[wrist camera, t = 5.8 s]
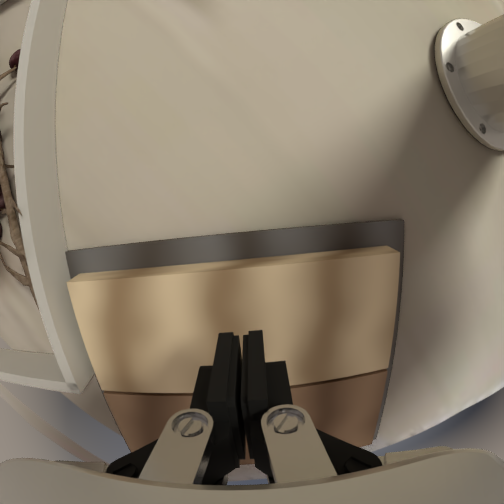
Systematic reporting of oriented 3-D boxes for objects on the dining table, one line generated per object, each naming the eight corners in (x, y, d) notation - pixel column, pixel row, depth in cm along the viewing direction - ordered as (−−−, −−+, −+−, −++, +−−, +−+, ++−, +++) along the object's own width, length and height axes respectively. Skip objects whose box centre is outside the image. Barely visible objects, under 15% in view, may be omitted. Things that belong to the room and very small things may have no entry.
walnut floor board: (401, 219, 20) (418, 224, 18) (374, 436, 25) (382, 452, 23) (62, 251, 20) (45, 259, 17) (134, 455, 25) (129, 471, 22)
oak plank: (386, 245, 20) (400, 252, 18) (378, 354, 22) (388, 367, 20) (79, 273, 20) (66, 282, 18) (110, 376, 22) (102, 390, 20)
